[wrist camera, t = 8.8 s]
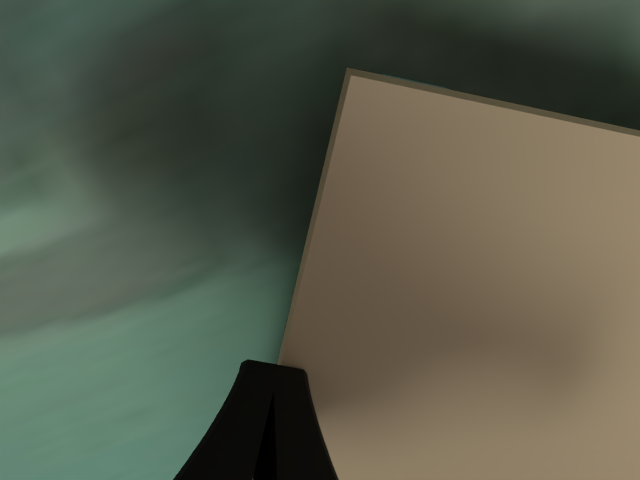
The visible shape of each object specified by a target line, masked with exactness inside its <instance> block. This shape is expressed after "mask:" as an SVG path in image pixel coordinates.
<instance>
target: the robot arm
mask: <svg viewBox="0 0 640 480" xmlns="http://www.w3.org/2000/svg"><path fill="white" fill-rule="evenodd" d="M252 479H253V480H339V479H338V477H337V474H336V471H335V469H334V466H333V464H332V461H331V458H330V455H329V452H328V449H327V447H326V444H325V441H324V438H323V435H322V432H321V429H320V425H319V422H318V419H317V415H316V412H315V408H314V404H313V400H312V396H311V392H310V387H309V381H308V374H307V373H306V372H305V370H304V369H300V368H294V367H288V366H282V365H277V364H271V363H265V362H259V361H254V360H246V361H244V362H242V363H241V366H240V370H239V373H238V375H237V378H236V380H235V382H234V385H233V387H232V389H231V391H230V393H229V395H228V397H227V398H226V400H225V402H224V404H223V406H222V408H221V409H220V411H219V413H218V414H217V416H216V418H215V419H214V421H213V423H212V424H211V426H210V427H209V429H208V431H207V432H206V434H205V435H204V437H203V438H202V440H201V441H200V443H199V444H198V446H197V447H196V449H195V450H194V451H193V453H192V454H191V456H190V457H189V458H188V460H187V461H186V463H185V464H184V466H183V467H182V468H181V470H180V471H179V472H178V474H177V475H176V476H175V478H174V479H173V480H252Z"/></svg>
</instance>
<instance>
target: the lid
mask: <svg viewBox="0 0 640 480" xmlns="http://www.w3.org/2000/svg"><path fill="white" fill-rule="evenodd" d="M277 365H282V366H288V367H294V368H300V369H304V370H305V372H306V373H307V374H308V381H309V387H310V392H311V396H312V400H313V404H314V408H315V412H316V415H317V419H318V422H319V425H320V429H321V432H322V435H323V438H324V441H325V444H326V447H327V449H328V452H329V455H330V458H331V461H332V464H333V466H334V469H335V471H336V474H337V477H338V479H339V480H640V130H635V129H630V128H626V127H621V126H616V125H612V124H607V123H602V122H598V121H593V120H589V119H584V118H579V117H575V116H570V115H565V114H561V113H556V112H552V111H547V110H542V109H538V108H533V107H528V106H524V105H519V104H514V103H510V102H505V101H501V100H496V99H491V98H487V97H482V96H477V95H473V94H468V93H463V92H459V91H454V90H450V89H448V88H446V87H442V86H437V85H432V84H428V83H423V82H418V81H414V80H409V79H405V78H400V77H395V76H391V75H386V74H381V73H380V74H375V73H371V72H366V71H362V70H357V69H352V68H348V67H347V69H346V73H345V77H344V81H343V86H342V90H341V94H340V98H339V103H338V107H337V111H336V115H335V120H334V124H333V128H332V132H331V137H330V141H329V145H328V149H327V154H326V158H325V162H324V166H323V170H322V175H321V179H320V183H319V187H318V192H317V196H316V200H315V204H314V209H313V213H312V217H311V221H310V226H309V230H308V234H307V238H306V243H305V247H304V251H303V255H302V260H301V264H300V268H299V272H298V277H297V281H296V285H295V289H294V294H293V298H292V302H291V306H290V311H289V315H288V319H287V323H286V327H285V332H284V336H283V340H282V344H281V349H280V353H279V357H278V361H277ZM252 480H253V479H252Z"/></svg>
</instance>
